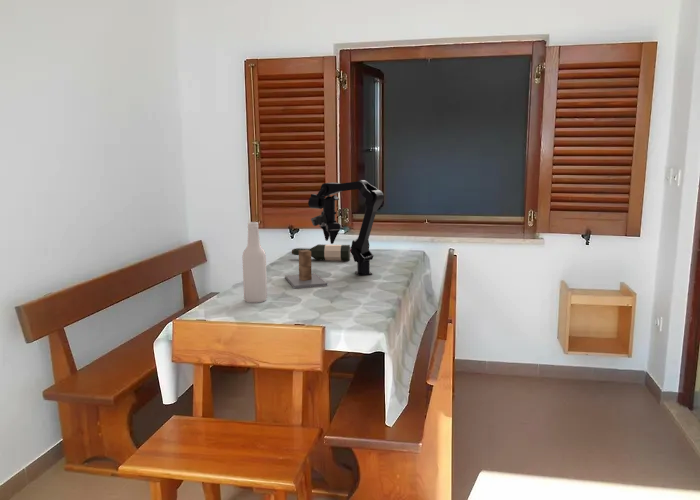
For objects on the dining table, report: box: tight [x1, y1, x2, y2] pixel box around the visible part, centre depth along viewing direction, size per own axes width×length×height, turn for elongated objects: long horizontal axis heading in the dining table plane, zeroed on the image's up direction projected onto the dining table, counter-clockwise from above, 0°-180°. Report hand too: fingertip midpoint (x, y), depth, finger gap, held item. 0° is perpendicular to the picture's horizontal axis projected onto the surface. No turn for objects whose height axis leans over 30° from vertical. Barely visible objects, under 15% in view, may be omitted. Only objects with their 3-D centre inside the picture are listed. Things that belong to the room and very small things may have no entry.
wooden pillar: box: [298, 250, 312, 281], centre depth 246 cm, size 4×4×12 cm
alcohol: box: [241, 221, 268, 304], centre depth 216 cm, size 9×9×30 cm
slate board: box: [284, 272, 328, 289], centre depth 247 cm, size 20×14×1 cm
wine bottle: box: [291, 243, 351, 262], centre depth 295 cm, size 8×8×30 cm
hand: (329, 242), depth 271 cm, fingers open, 9 cm apart
